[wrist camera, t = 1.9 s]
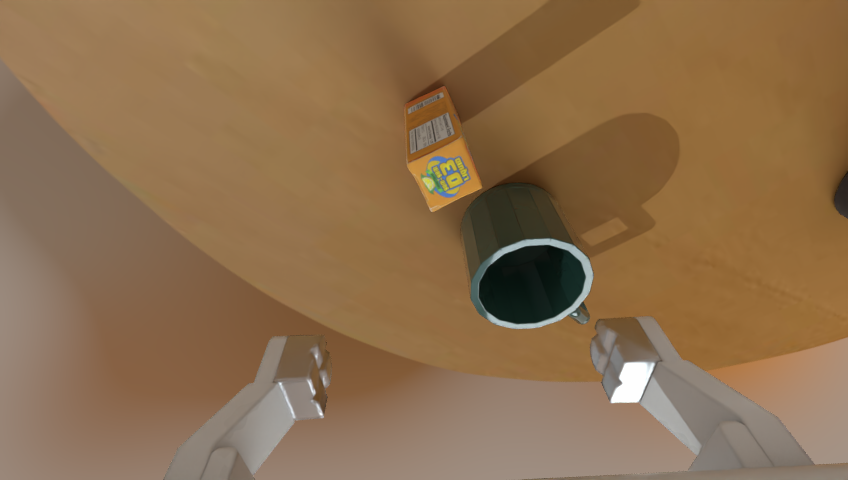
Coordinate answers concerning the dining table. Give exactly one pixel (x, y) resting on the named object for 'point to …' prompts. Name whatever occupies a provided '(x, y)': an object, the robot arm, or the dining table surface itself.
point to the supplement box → (438, 150)
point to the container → (842, 197)
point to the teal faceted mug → (524, 259)
